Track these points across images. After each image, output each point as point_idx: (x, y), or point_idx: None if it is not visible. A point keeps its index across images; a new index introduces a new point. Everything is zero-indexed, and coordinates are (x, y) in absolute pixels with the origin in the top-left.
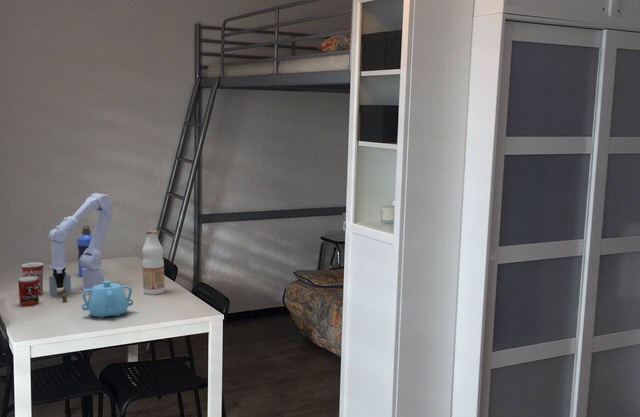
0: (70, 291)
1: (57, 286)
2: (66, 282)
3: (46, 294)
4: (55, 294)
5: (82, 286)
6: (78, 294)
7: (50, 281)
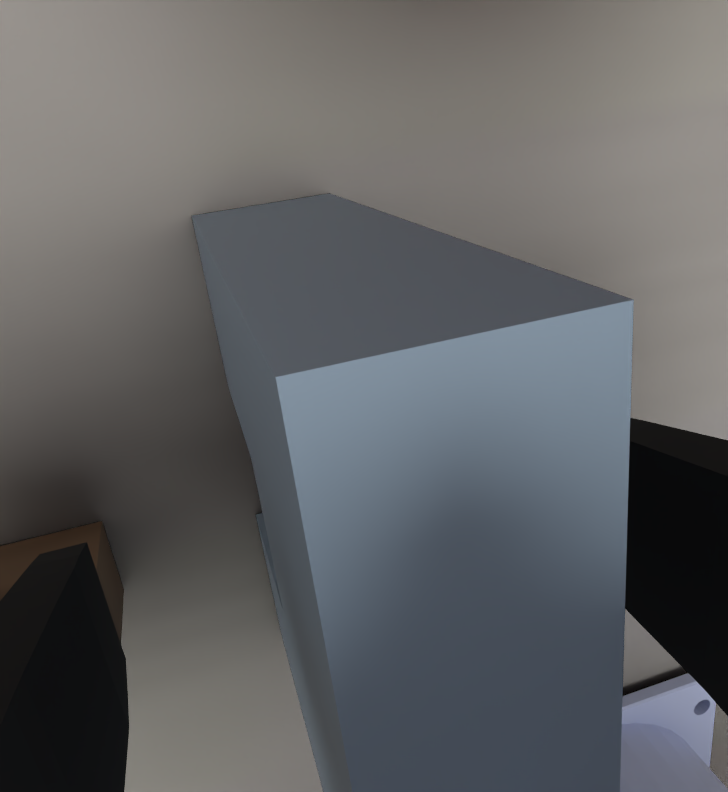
0: (289, 659)
1: (10, 592)
2: (325, 786)
3: (350, 103)
4: (221, 354)
5: (687, 691)
6: (205, 765)
7: (246, 363)
